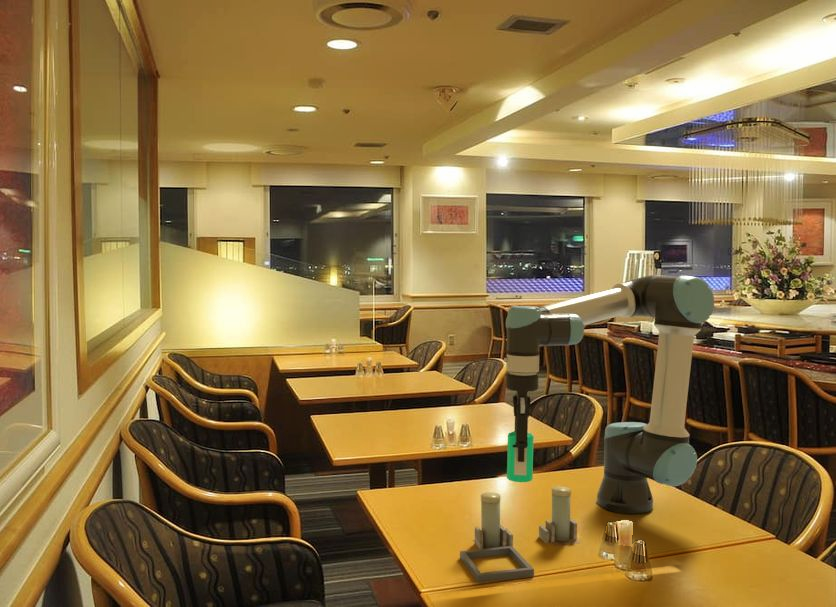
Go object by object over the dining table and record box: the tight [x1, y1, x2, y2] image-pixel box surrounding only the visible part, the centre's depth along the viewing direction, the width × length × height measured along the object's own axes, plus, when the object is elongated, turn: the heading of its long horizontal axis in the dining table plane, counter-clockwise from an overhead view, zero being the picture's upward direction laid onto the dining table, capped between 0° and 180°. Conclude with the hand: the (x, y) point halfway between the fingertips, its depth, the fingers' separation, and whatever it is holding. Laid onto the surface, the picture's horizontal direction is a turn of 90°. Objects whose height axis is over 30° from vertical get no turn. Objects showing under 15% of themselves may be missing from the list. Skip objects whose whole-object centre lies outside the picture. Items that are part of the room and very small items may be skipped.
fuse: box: [480, 491, 501, 548], centre depth 170 cm, size 5×5×12 cm
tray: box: [459, 545, 535, 588], centre depth 159 cm, size 13×13×3 cm
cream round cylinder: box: [551, 485, 572, 541], centre depth 175 cm, size 5×5×12 cm
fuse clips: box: [472, 517, 581, 549], centre depth 171 cm, size 25×12×5 cm, turn 104°
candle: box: [506, 431, 534, 483], centre depth 169 cm, size 6×6×12 cm
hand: (519, 470), depth 169 cm, fingers closed on candle, 5 cm apart
